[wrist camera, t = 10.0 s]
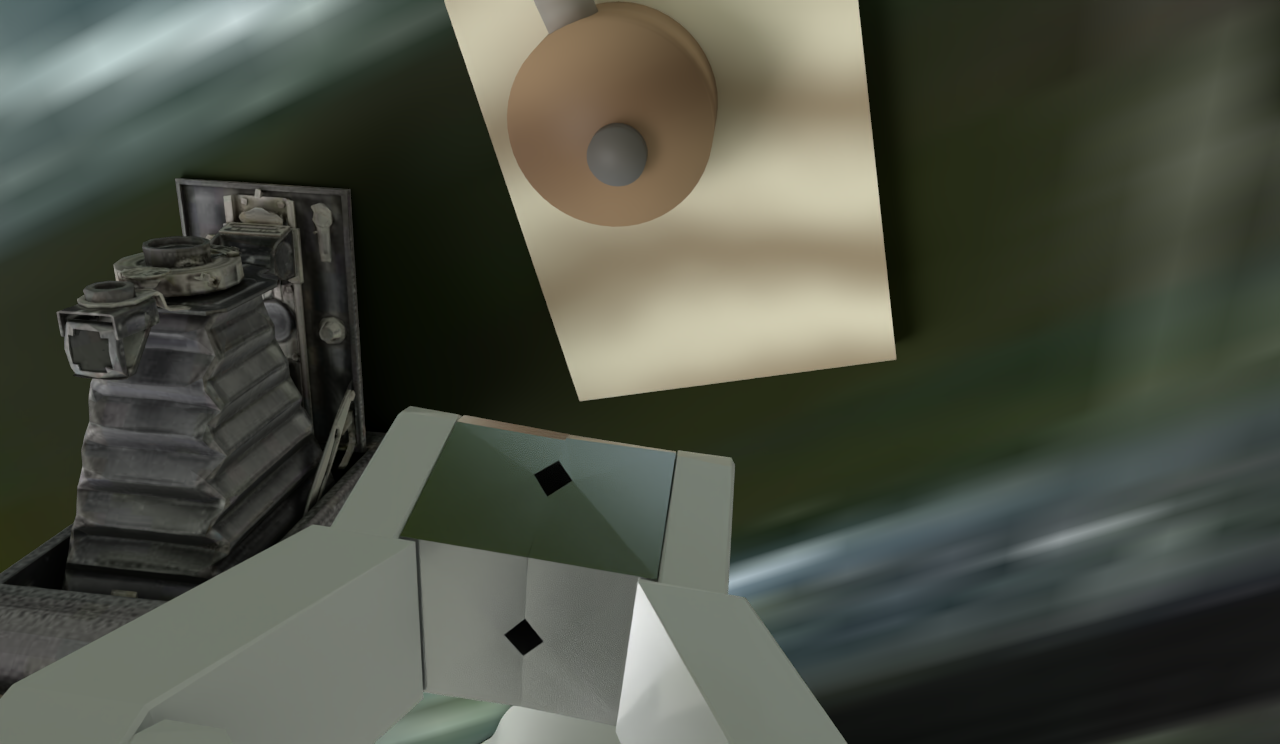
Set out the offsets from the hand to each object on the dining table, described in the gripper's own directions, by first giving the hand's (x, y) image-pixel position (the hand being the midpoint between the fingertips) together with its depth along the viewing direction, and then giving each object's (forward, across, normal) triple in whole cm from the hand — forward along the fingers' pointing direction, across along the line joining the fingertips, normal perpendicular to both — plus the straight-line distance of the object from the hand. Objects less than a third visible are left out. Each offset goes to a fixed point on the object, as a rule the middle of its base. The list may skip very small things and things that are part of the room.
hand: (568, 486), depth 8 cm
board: (+27, +1, +5) cm, 28 cm away
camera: (+27, +18, +18) cm, 37 cm away
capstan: (+26, +4, +2) cm, 26 cm away
